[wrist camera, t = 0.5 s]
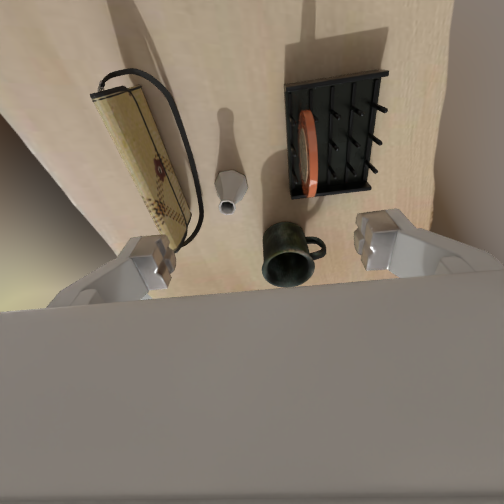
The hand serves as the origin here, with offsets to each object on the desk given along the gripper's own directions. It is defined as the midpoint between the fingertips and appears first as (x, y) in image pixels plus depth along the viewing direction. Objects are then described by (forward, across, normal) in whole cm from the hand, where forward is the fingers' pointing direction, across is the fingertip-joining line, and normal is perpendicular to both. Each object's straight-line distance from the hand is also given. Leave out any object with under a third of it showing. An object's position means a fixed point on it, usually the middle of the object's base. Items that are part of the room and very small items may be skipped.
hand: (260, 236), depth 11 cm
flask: (+44, +8, +16) cm, 48 cm away
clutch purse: (+44, +18, +8) cm, 48 cm away
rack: (+44, -13, +8) cm, 47 cm away
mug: (+44, -4, +31) cm, 54 cm away
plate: (+36, -7, +9) cm, 38 cm away
